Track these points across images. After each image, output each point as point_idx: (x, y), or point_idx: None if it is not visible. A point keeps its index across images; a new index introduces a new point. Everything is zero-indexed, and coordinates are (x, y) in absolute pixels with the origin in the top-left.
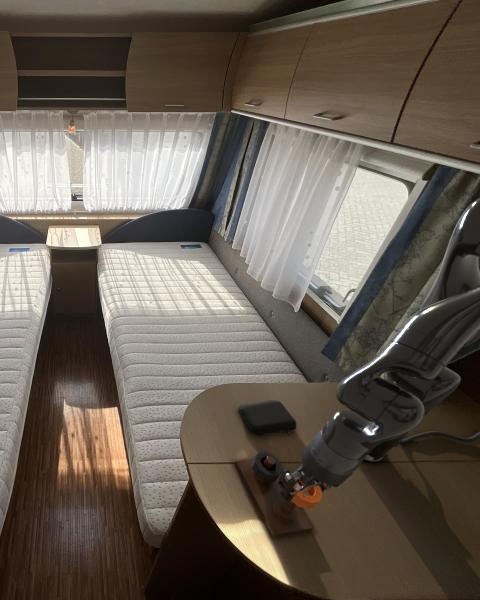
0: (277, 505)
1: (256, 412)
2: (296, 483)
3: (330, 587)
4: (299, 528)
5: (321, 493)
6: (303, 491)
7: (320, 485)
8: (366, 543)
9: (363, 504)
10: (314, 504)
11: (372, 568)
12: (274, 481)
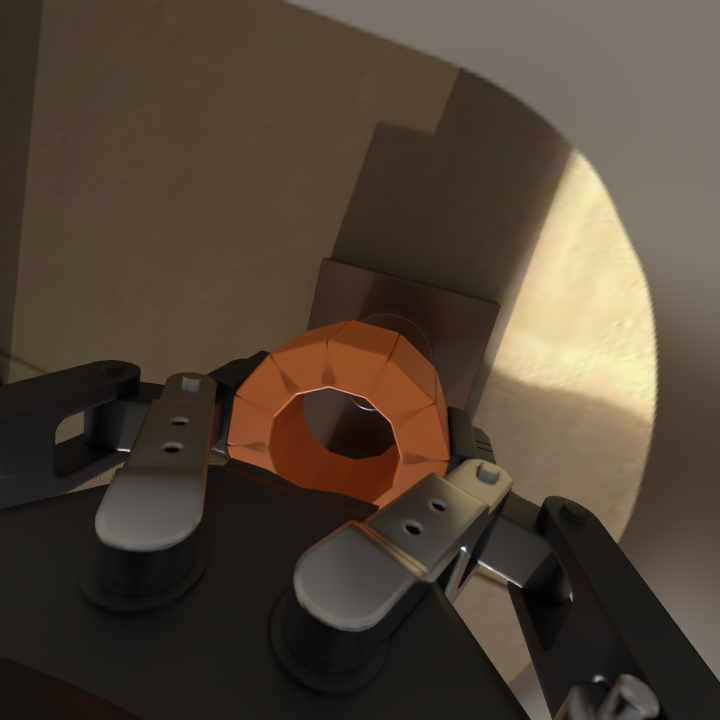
0: None
1: None
2: (627, 707)
3: (432, 78)
4: (382, 280)
5: (260, 372)
6: (455, 486)
7: (222, 413)
8: (178, 146)
9: (87, 247)
10: (359, 337)
11: (225, 73)
12: (347, 453)
